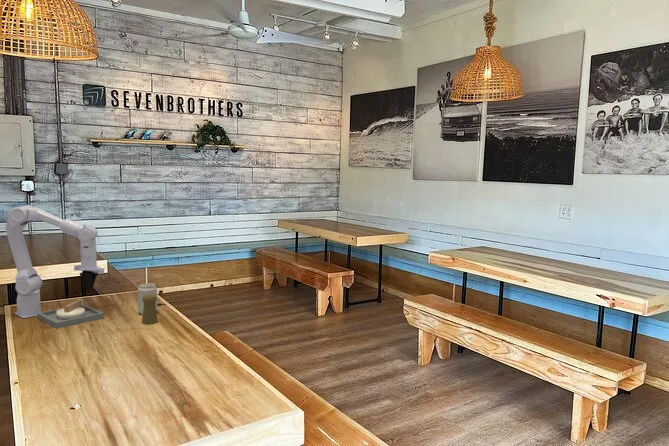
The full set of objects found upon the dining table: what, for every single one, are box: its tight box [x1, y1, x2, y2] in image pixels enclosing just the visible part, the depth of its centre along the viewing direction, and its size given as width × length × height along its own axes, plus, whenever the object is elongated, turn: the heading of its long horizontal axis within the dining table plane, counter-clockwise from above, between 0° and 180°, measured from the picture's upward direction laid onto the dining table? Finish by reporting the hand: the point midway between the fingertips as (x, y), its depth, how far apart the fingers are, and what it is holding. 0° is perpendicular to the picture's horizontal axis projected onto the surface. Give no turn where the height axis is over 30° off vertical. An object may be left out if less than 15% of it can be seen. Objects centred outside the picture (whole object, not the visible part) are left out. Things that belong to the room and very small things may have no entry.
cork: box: [141, 294, 159, 325], centre depth 197 cm, size 6×6×11 cm
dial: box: [56, 298, 85, 319], centre depth 200 cm, size 10×13×4 cm
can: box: [137, 282, 158, 315], centre depth 209 cm, size 8×8×12 cm
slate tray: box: [36, 304, 105, 329], centre depth 199 cm, size 18×18×2 cm
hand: (89, 289), depth 204 cm, fingers closed
